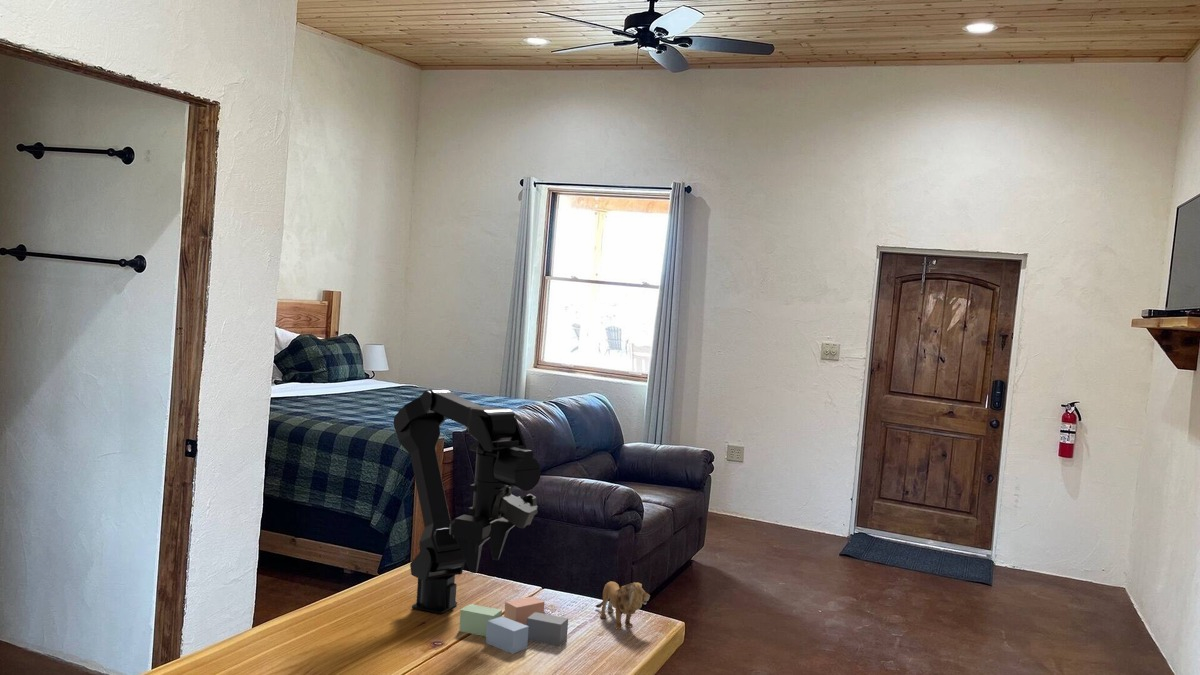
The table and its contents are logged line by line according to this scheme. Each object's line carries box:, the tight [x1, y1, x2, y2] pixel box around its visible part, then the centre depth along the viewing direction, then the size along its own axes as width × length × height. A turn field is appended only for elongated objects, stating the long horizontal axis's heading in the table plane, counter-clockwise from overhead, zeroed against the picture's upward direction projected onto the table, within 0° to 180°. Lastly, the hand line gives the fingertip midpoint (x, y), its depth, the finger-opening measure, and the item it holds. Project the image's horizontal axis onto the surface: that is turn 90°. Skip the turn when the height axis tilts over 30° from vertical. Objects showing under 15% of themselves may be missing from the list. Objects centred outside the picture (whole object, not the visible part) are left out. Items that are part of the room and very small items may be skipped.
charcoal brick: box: [527, 612, 569, 647], centre depth 164 cm, size 6×4×4 cm, turn 71°
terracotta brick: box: [503, 595, 546, 625], centre depth 172 cm, size 6×4×4 cm, turn 131°
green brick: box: [458, 603, 503, 637], centre depth 166 cm, size 6×4×4 cm, turn 71°
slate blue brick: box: [485, 616, 529, 655], centre depth 160 cm, size 6×4×4 cm, turn 51°
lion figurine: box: [595, 581, 651, 630], centre depth 176 cm, size 15×5×9 cm, turn 34°
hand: (484, 566), depth 166 cm, fingers open, 9 cm apart
